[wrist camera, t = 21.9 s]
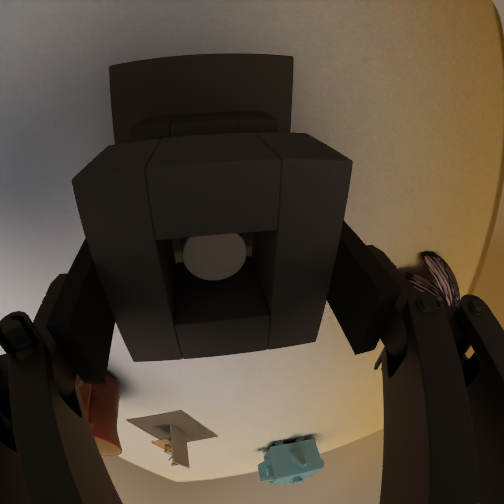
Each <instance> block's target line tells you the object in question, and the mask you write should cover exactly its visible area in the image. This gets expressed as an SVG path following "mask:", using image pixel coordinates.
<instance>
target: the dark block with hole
mask: <svg viewBox="0 0 504 504" xmlns="http://www.w3.org/2000/svg"><path fill="white" fill-rule="evenodd" d="M223 133H254V134H255V133H279V119H277V118H275V117H273V116H271V115H269V114H267V113H265V112H263V111H241V112H231V113H230V112H213V113H196V114H184V115H175V116H163V117H155V118H147V119H142V120H141V121H140V122H138V123H137V124H136V125H135V126H133V127H132V128H131V129H130V141H131V142H136V141H144V140H152V139H162V138H169V137H179V136H191V135H205V134H223ZM242 234H243V238H244V241H245V244H246V247H250V246H252V232H245V233H242ZM172 241H173V248H174V253H181V252H182V248H183V238H174V239H172Z"/></svg>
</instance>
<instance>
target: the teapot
mask: <svg viewBox="0 0 504 504" xmlns="http://www.w3.org/2000/svg"><path fill="white" fill-rule="evenodd" d="M304 439H305V436H302V437H299V438H297V439H296V442H295V443H289V444H284V442H283V441H282V440H281V441H276V442H274V444H275V446H272V447H270V448H269V450H268V451H267V453H266V454H265V456H264V460H265V461H264V462H262V463H260V464H259V465H258V470H259V475H260V480H261V481H270V484H271V485H272V484H278V483H283V482H286V484H285V485H289V484H290V483H291V481H293V482H292V483H293V484H296V483H300V482H303V479H302V478H306V477H310V476H312V475H314V474H315V473H317V472H318V471H320V470H321V469H322V468H323V466H324V461H323V460H322V459H321V458H320V454H319V451H318V448H317V445H316V442H315V439H310V440H305V441H304ZM266 468H267V472H268V476H267V475H266V474H267V473H266Z"/></svg>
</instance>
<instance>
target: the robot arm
mask: <svg viewBox="0 0 504 504" xmlns="http://www.w3.org/2000/svg"><path fill="white" fill-rule="evenodd" d="M327 301H328V303H329V305H330V307H331V309H332V311H333V313H334V315H335V316H336V318H337V320H338V322H339V324H340V326H341V328H342V330H343V332H344V334H345V336H346V337H347V339H348V341H349V343H350V345H351V347H352V349H353V351H354V353H355V355H357V354H360V353H364V352H368V351H372V350H374V349H375V347H376V345H377V343H378V341H379V339H381V341H382V342H383V344H384V346H385V347H384V349H383V351H382V352H381V354H380V356H379V358H378V360H377V362H376V363H375V367H374V369H375V370H377V369H378V367H379V365H380V364H381V362H382V368H381V370H382V376H383V399H384V449H383V470H382V484H381V495H380V504H504V330H503V329H502V327H501V325H500V324H499V322H498V321H497V319H496V318H495V316H494V315H493V313H492V312H491V310H490V309H489V307H488V306H487V305H486V303H485V302H484V301H483V300H481V299H480V298H479V297H477V296H474V295H464V296H463V297H462V298H461V300H460V302H459V303H458V305H457V306H449V305H442V303H441V302H440V301H439V300H438V299H437V298H436V297H435V296H433V295H431V294H430V293H427V292H423V291H416V290H415V289H414V287H413V286H412V285H411V284H410V283H409V281H408V280H407V279H406V278H405V277H404V275H403V274H402V273H401V272H400V271H399V269H396V266H395V265H394V264H393V263H392V262H390V259H389V258H388V257H387V256H386V255H385V253H384V252H383V251H381V250H379V249H378V248H376V247H375V246H373V245H365V244H364V243H363V242H362V240H361V239H360V238H359V237H358V236H357V235H356V234H355V232H354V231H353V230H352V229H351V228H350V227H349V226H348V225H347V224H346V222H345V221H344V220H343V225H342V231H341V236H340V240H339V245H338V250H337V255H336V260H335V265H334V269H333V274H332V278H331V282H330V287H329V291H328V295H327ZM114 326H115V319H114V316H113V314H112V311H111V309H110V306H109V304H108V301H107V299H106V296H105V293H104V291H103V288H102V285H101V282H100V280H99V277H98V274H97V271H96V268H95V265H94V262H93V259H92V256H91V253H90V250H89V247H88V243H87V240H86V238H85V240H84V242H83V244H82V246H81V248H80V250H79V252H78V254H77V256H76V258H75V260H74V262H73V264H72V266H71V268H70V270H69V272H68V273H67V274H59V275H58V276H57V277H56V279H55V280H54V281H53V282H52V283H51V284H50V286H49V288H48V290H47V292H46V296H45V297H44V299H43V301H42V304H41V305H40V308H39V310H38V312H37V315H36V317H35V319H34V322H33V323H32V321H31V319H30V317H29V316H28V315H27V314H26V313H25V312H21V311H17V312H12V313H10V314H8V315H7V316H5V317H4V318H3V319H2V320H1V321H0V345H1V347H2V348H3V349H4V351H5V352H6V353H7V354H3V355H0V504H123V503H122V501H121V499H120V497H119V495H118V493H117V491H116V489H115V487H114V485H113V483H112V480H111V478H110V476H109V474H108V471H107V469H106V467H105V464H104V462H103V459H102V457H101V454H100V452H99V449H98V447H97V444H96V441H95V438H94V436H93V433H92V430H91V427H90V424H89V421H88V418H87V414H86V411H85V408H84V404H83V401H82V397H81V393H80V391H79V389H78V387H77V386H76V385H75V382H76V377H77V375H78V376H79V377H80V379H81V380H82V381H83V383H84V384H105V380H106V373H107V366H108V360H109V354H110V348H111V342H112V336H113V331H114ZM470 346H472V348H473V350H474V354H473V355H472V356H471V358H470V359H469V358H467V357H466V355H465V353H466V352H467V350H468V349H469V348H470Z"/></svg>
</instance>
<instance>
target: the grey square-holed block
mask: <svg viewBox="0 0 504 504" xmlns="http://www.w3.org/2000/svg"><path fill="white" fill-rule="evenodd" d="M352 164H353V161H352V160H350V159H349V158H347V157H346V156H344V155H342V154H341V153H339V152H337V151H336V150H334V149H332V148H331V147H329V146H327V145H326V144H324V143H322V142H321V141H319V140H317V139H315V138H314V137H312V136H310V135H308V134H306V133H255V134H254V133H223V134H205V135H191V136H179V137H169V138H162V139H152V140H144V141H136V142H129V143H122V144H116V145H110V146H108V147H106V148H105V149H104V150H103V151H102V152H101V153H100V154H99V155H97V156H96V157H95V158H94V159H93V160H92V161H91V162H90V163H89V164H88V165H86V166H85V167H84V168H83V169H82V170H81V171H80V172H79V173H78V174H77V175H76V176H75V177H74V178H73V179H72V185H73V190H74V194H75V199H76V203H77V207H78V211H79V215H80V219H81V222H82V226H83V230H84V233H85V237H86V240H87V243H88V247H89V250H90V253H91V256H92V259H93V262H94V265H95V268H96V271H97V274H98V277H99V280H100V282H101V285H102V288H103V291H104V293H105V296H106V299H107V301H108V304H109V306H110V309H111V311H112V314H113V316H114V319H115V321H116V324H117V326H118V329H119V331H120V333H121V335H122V338H123V340H124V342H125V344H126V346H127V349H128V351H129V353H130V355H131V357H132V359H133V361H134V362H141V361H163V360H179V359H182V358H184V359H190V358H202V357H212V356H222V355H231V354H239V353H247V352H254V351H262V350H267V348H268V349H276V348H282V347H288V346H294V345H300V344H306V343H311V342H315V341H316V338H317V335H318V331H319V327H320V323H321V320H322V316H323V312H324V308H325V304H326V300H327V295H328V291H329V287H330V282H331V278H332V274H333V269H334V265H335V260H336V255H337V250H338V245H339V240H340V236H341V231H342V225H343V220H344V215H345V209H346V203H347V197H348V191H349V185H350V178H351V171H352ZM245 232H252V257H251V256H246V259H245V262H244V264H243V266H242V267H241V268H240V269H239V270H238V271H237V272H236V273H235V274H233V275H232V276H230V277H228V278H225V279H221V280H205V279H201V278H199V277H197V276H195V275H193V274H192V273H191V272H190V271H189V270H188V269H187V268H186V266H185V264H184V262H178V263H176V261H175V254H174V248H173V241H172V239H174V238H185V237H197V236H208V235H220V234H232V233H245Z"/></svg>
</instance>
